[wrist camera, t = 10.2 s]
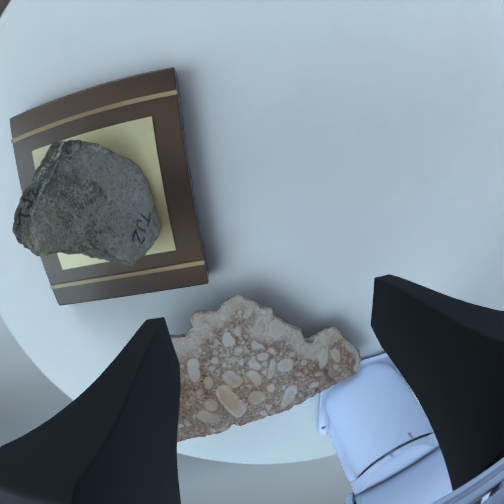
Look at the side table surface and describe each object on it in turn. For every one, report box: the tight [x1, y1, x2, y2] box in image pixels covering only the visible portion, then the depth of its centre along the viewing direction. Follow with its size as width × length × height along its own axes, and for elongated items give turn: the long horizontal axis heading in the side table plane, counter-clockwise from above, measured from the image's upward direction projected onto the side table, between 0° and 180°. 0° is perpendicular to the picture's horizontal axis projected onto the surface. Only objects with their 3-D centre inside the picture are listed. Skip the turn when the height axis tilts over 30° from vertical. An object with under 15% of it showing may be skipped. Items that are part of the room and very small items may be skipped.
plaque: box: [10, 67, 209, 305], centre depth 16 cm, size 12×10×1 cm
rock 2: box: [170, 294, 362, 442], centre depth 20 cm, size 18×4×10 cm
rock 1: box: [13, 140, 161, 266], centre depth 13 cm, size 6×7×5 cm
